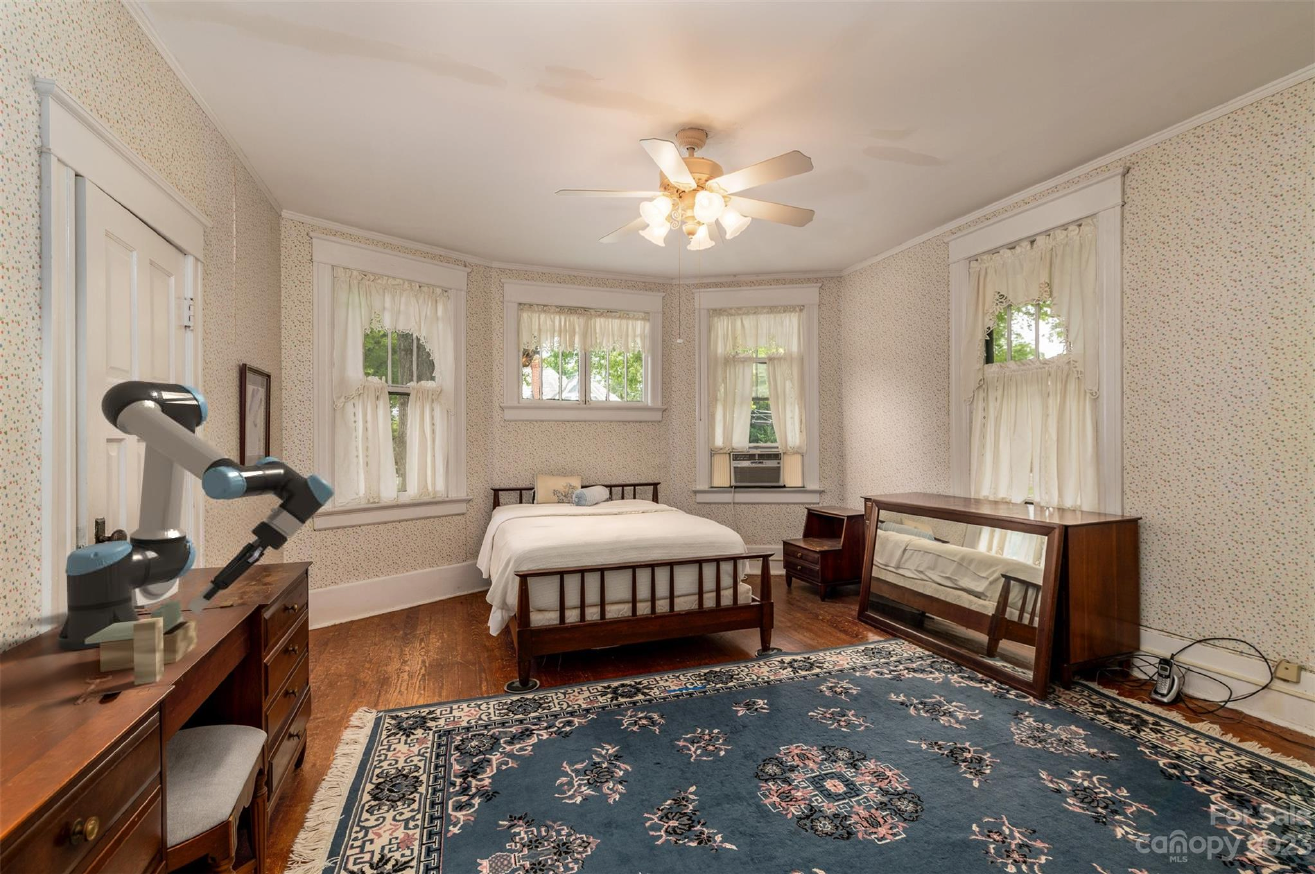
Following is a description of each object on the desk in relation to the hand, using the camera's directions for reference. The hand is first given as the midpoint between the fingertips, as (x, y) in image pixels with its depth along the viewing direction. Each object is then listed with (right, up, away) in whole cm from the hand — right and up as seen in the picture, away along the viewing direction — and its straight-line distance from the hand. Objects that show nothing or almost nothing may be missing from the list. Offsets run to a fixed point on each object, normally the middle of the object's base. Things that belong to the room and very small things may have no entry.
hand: (192, 610), depth 134 cm
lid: (-9, -4, -4) cm, 11 cm away
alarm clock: (-45, -11, +40) cm, 62 cm away
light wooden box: (-7, -10, -3) cm, 12 cm away
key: (-3, -10, -20) cm, 22 cm away
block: (+4, -9, -16) cm, 19 cm away
